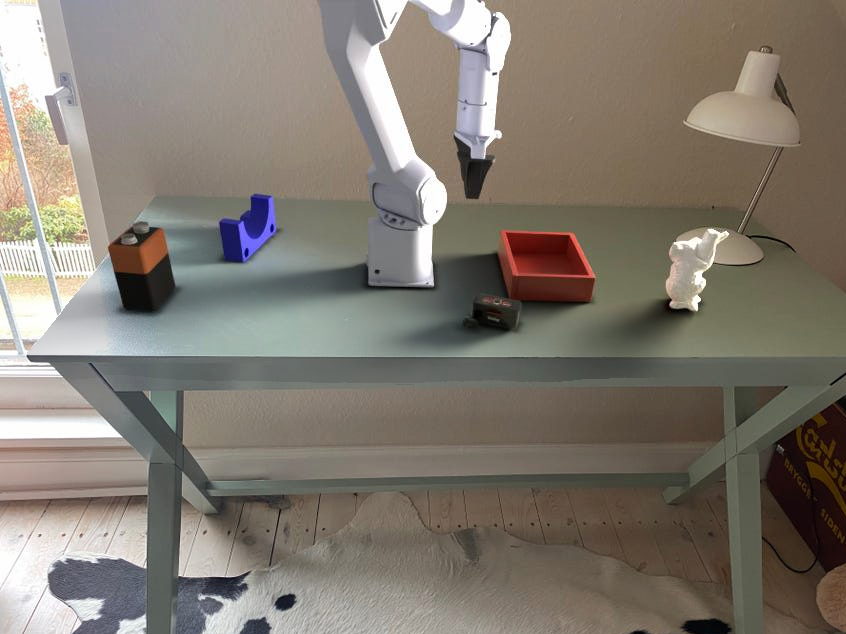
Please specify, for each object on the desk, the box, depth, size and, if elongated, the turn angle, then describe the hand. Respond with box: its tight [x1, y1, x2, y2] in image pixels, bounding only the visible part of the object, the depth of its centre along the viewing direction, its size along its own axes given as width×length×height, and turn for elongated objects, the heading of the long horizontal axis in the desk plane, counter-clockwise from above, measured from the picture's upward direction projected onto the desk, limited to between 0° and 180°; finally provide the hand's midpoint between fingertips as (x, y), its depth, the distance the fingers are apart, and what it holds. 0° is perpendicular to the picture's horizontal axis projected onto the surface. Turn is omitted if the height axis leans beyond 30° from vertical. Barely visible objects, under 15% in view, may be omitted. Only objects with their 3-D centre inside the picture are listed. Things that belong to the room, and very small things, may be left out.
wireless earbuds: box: [460, 292, 522, 330], centre depth 89 cm, size 5×7×3 cm, turn 75°
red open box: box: [497, 230, 596, 303], centre depth 102 cm, size 12×16×4 cm
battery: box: [107, 220, 176, 312], centre depth 85 cm, size 4×7×10 cm, turn 178°
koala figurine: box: [665, 228, 730, 312], centre depth 96 cm, size 8×7×12 cm
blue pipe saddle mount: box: [218, 193, 277, 263], centre depth 102 cm, size 12×4×6 cm, turn 171°
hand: (470, 189), depth 105 cm, fingers open, 7 cm apart
